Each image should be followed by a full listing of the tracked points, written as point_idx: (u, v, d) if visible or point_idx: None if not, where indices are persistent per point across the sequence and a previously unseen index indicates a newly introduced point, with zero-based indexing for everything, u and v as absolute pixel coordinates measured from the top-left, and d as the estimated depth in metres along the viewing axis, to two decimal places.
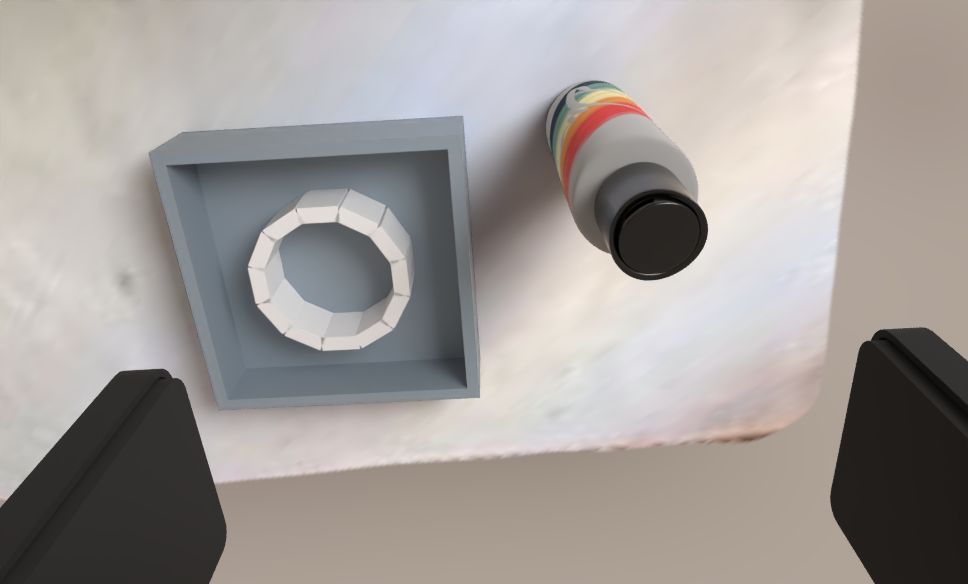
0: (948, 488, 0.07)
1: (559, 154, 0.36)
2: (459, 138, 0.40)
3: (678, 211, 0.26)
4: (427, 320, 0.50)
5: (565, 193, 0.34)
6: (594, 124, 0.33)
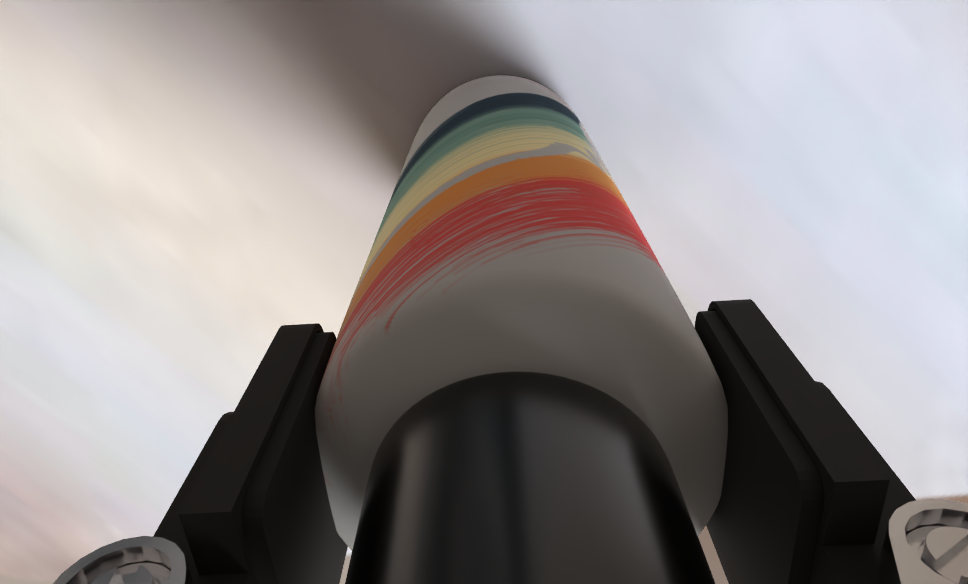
0: (740, 436, 0.08)
1: (532, 145, 0.13)
2: None
3: None
4: None
5: (474, 201, 0.11)
6: None
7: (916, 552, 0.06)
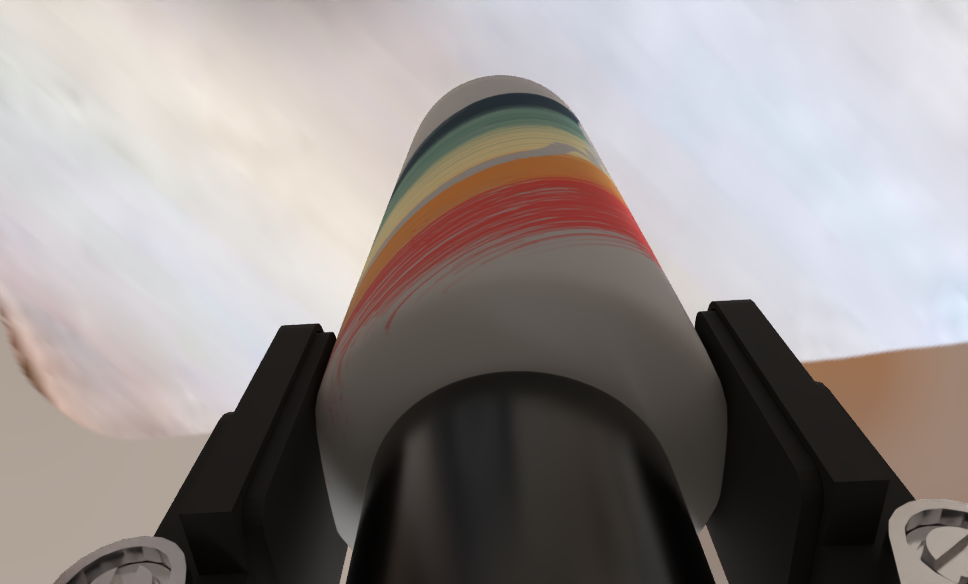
0: (740, 436, 0.08)
1: (532, 145, 0.13)
2: None
3: None
4: None
5: (474, 201, 0.11)
6: (653, 254, 0.12)
7: (916, 552, 0.06)
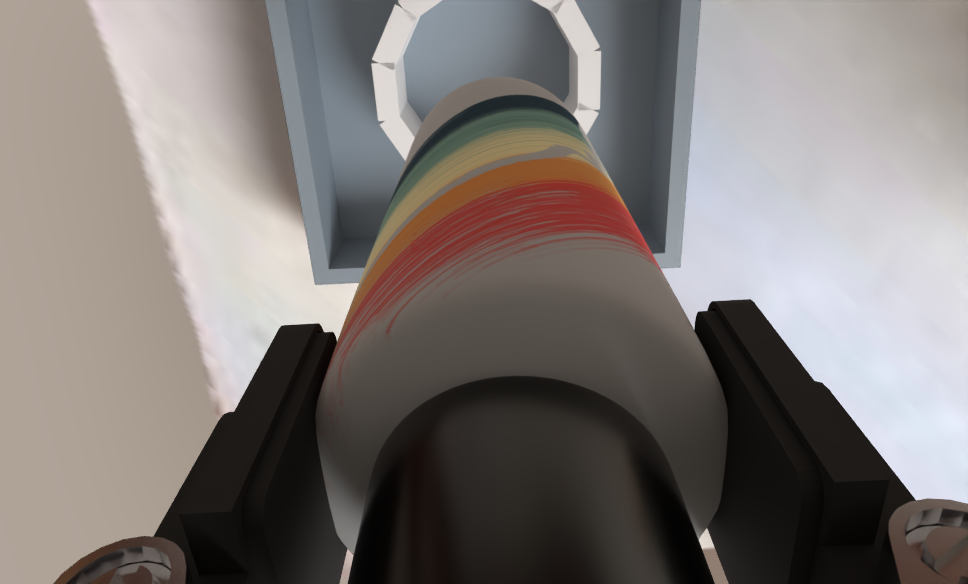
0: (741, 436, 0.08)
1: (532, 148, 0.13)
2: (675, 266, 0.34)
3: None
4: None
5: (474, 204, 0.11)
6: None
7: (916, 552, 0.06)
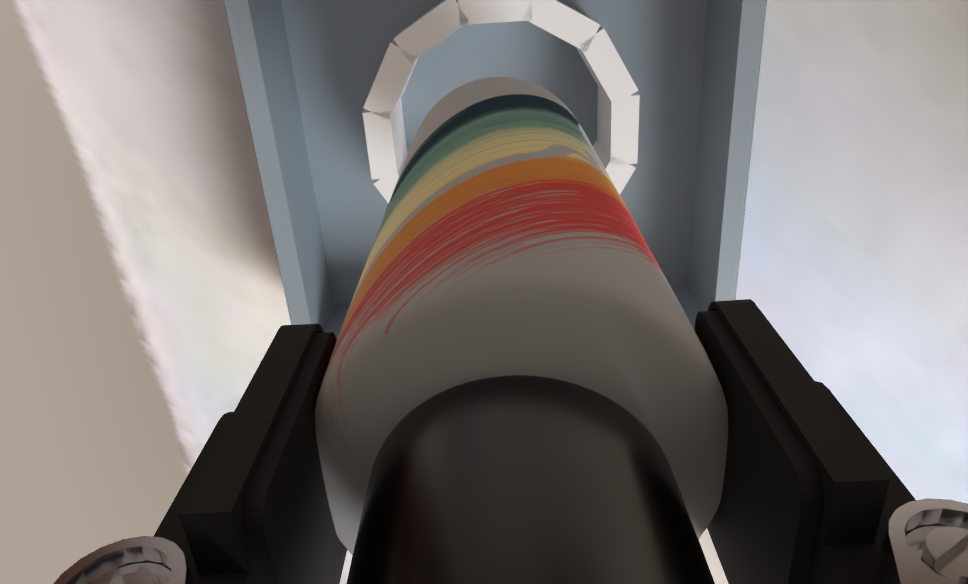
0: (740, 436, 0.08)
1: (532, 147, 0.13)
2: None
3: None
4: None
5: (473, 203, 0.10)
6: None
7: (915, 552, 0.06)
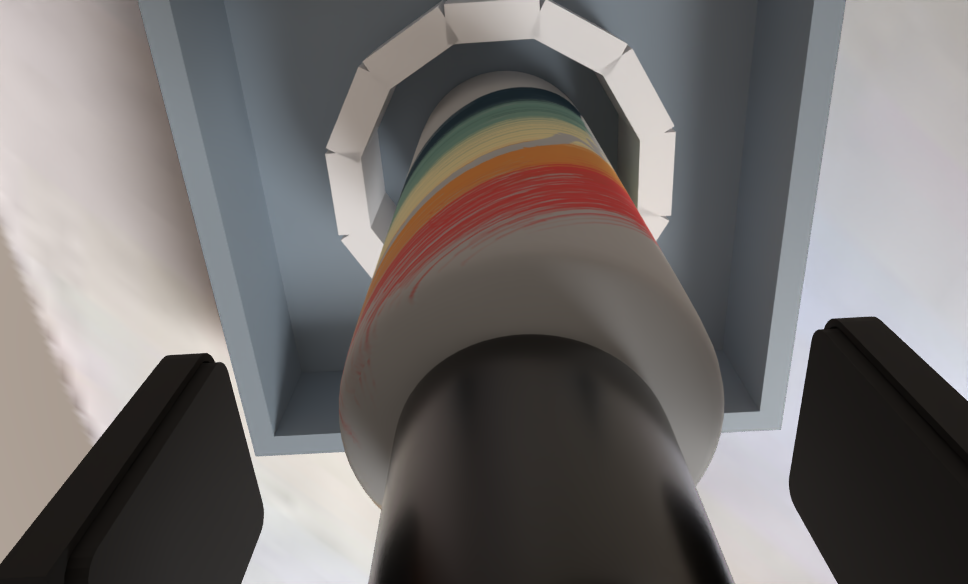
0: (887, 468, 0.08)
1: (538, 135, 0.14)
2: (774, 427, 0.24)
3: None
4: None
5: (486, 185, 0.11)
6: (652, 235, 0.13)
7: None
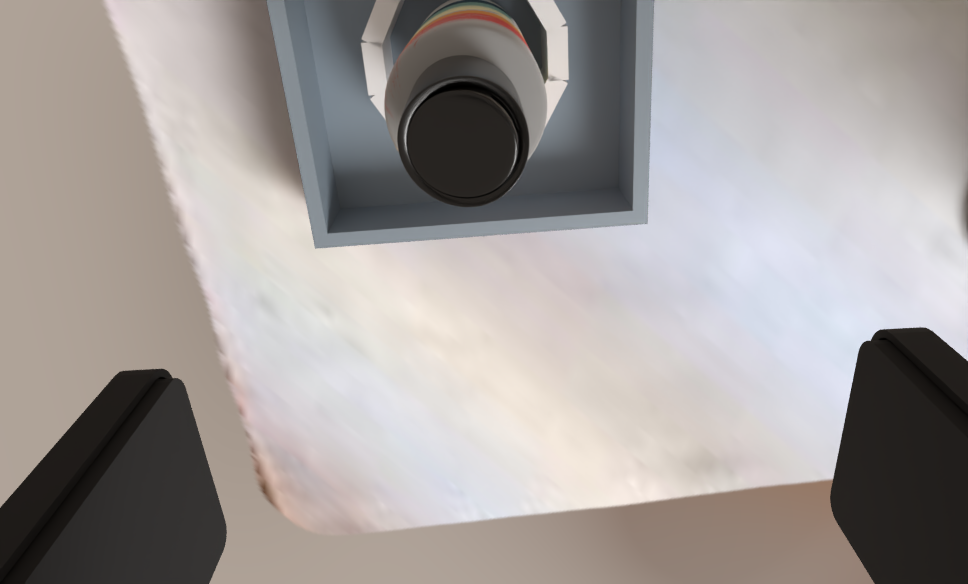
0: (948, 488, 0.07)
1: (477, 8, 0.28)
2: (643, 222, 0.38)
3: (503, 165, 0.20)
4: (388, 159, 0.40)
5: (447, 17, 0.25)
6: None
7: None
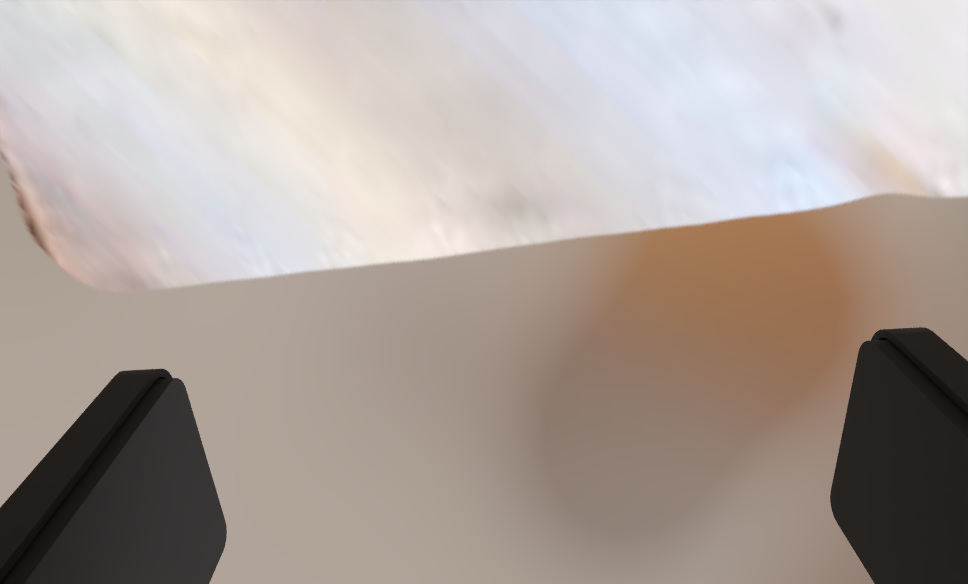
0: (948, 488, 0.07)
1: None
2: None
3: None
4: None
5: None
6: None
7: None
